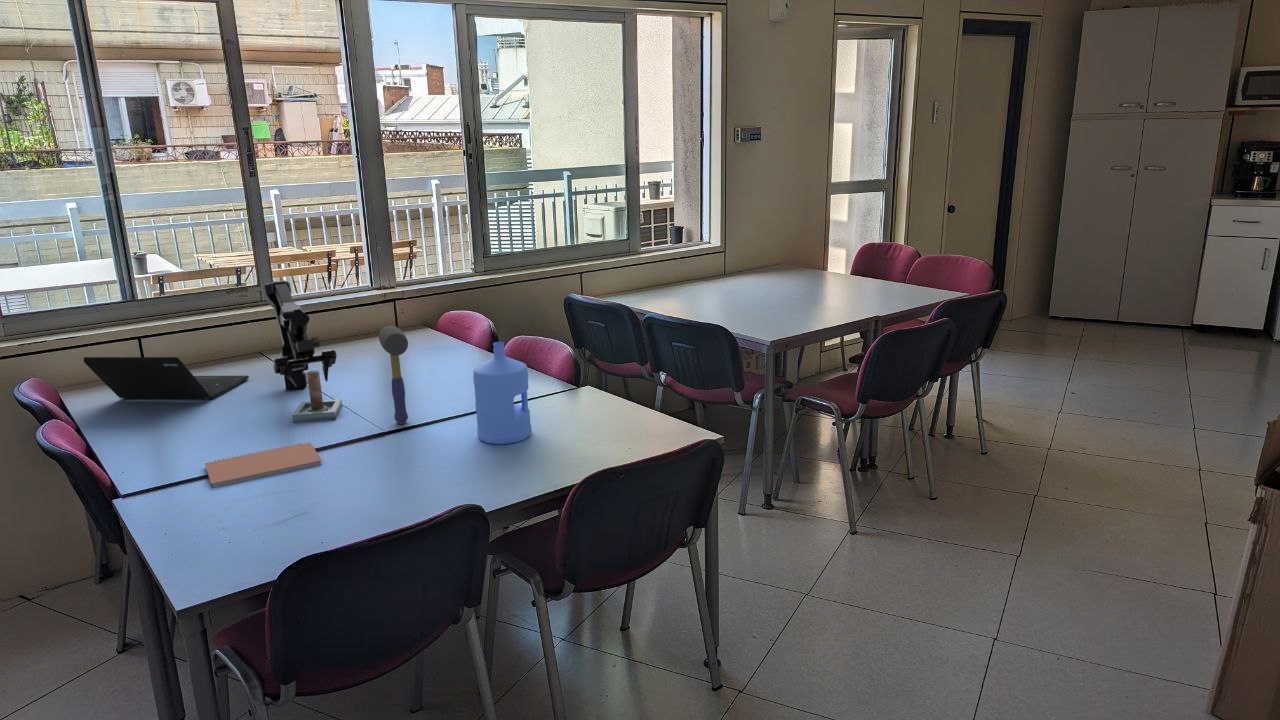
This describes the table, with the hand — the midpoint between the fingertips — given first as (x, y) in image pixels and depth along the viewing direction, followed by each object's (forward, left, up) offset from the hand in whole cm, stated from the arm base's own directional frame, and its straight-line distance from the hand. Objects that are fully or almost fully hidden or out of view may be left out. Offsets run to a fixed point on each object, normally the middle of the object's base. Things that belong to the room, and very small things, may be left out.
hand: (312, 383), depth 268 cm
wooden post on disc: (+1, -4, -8) cm, 9 cm away
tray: (+2, -4, -9) cm, 10 cm away
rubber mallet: (+29, -18, -9) cm, 35 cm away
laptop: (-51, +28, -10) cm, 59 cm away
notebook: (-6, -44, -10) cm, 45 cm away
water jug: (+60, -36, -9) cm, 70 cm away
